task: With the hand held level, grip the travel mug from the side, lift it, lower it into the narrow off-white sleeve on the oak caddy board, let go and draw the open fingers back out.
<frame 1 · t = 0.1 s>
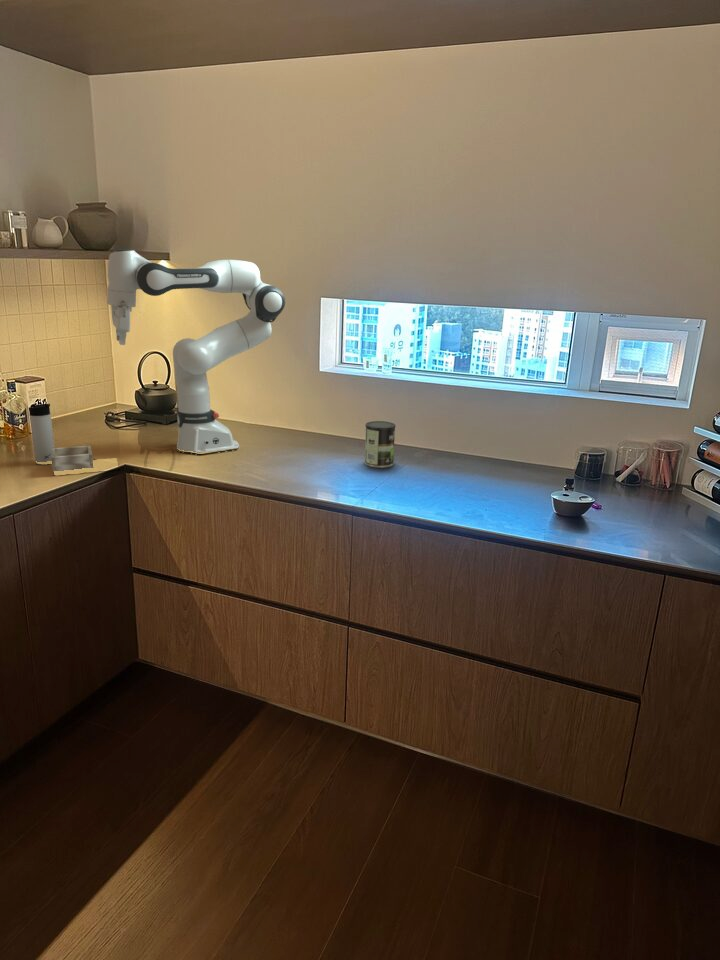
hand: (120, 342, 225), 39 cm above the counter, tool pointing down, fingers open, 8 cm apart
coffee can: (378, 464, 235), on the counter
mug caddy: (86, 467, 221), on the counter
travel mug: (46, 463, 225), on the counter
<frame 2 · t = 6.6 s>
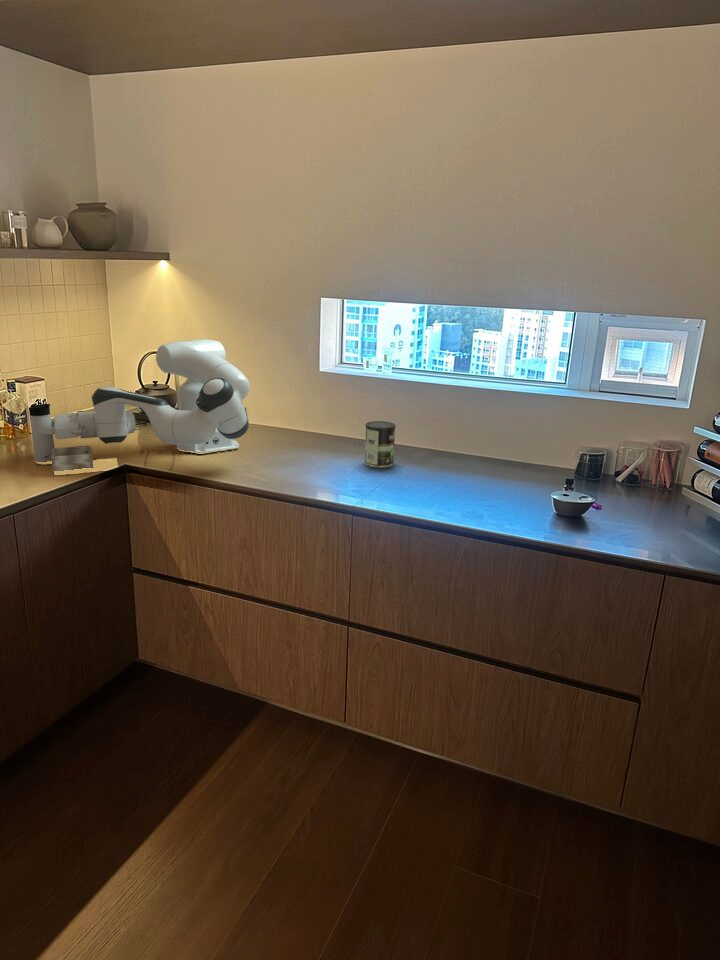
hand: (39, 428, 221), 12 cm above the counter, tool horizontal, fingers closed on travel mug, 6 cm apart
travel mug: (46, 463, 225), on the counter, touching gripper
everything else where it was.
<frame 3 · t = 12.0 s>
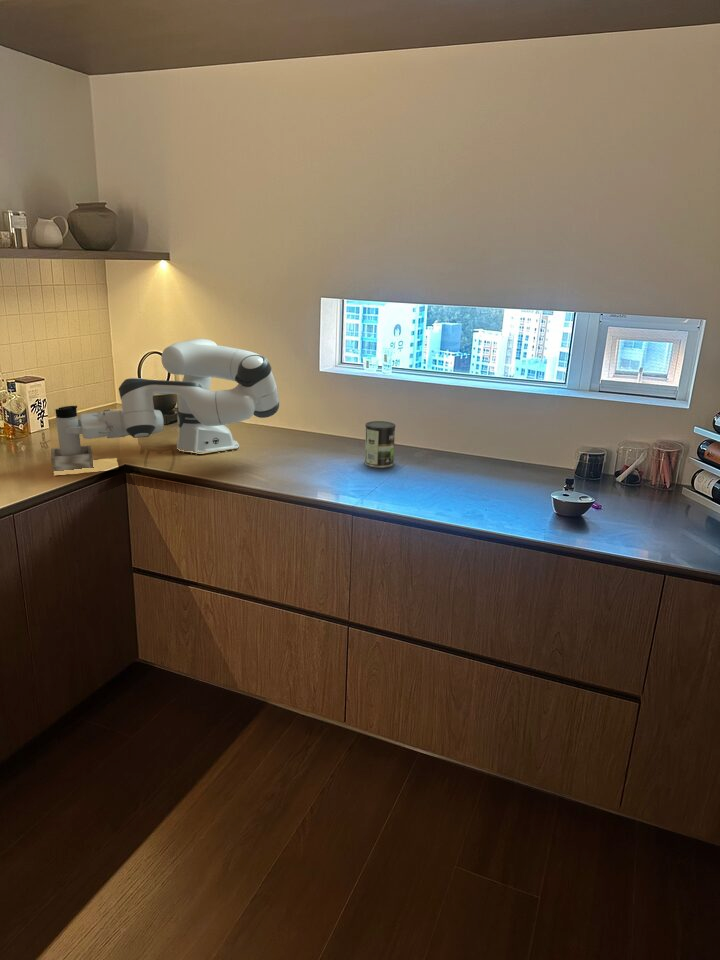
hand: (65, 427, 214), 14 cm above the counter, tool horizontal, fingers closed on travel mug, 6 cm apart
travel mug: (73, 467, 219), point 1 cm above the counter, touching gripper, mug caddy
everything else where it was.
when the fingers open (14 cm above the counter, at t = 12.5 s): travel mug stays where it is, resting on mug caddy.
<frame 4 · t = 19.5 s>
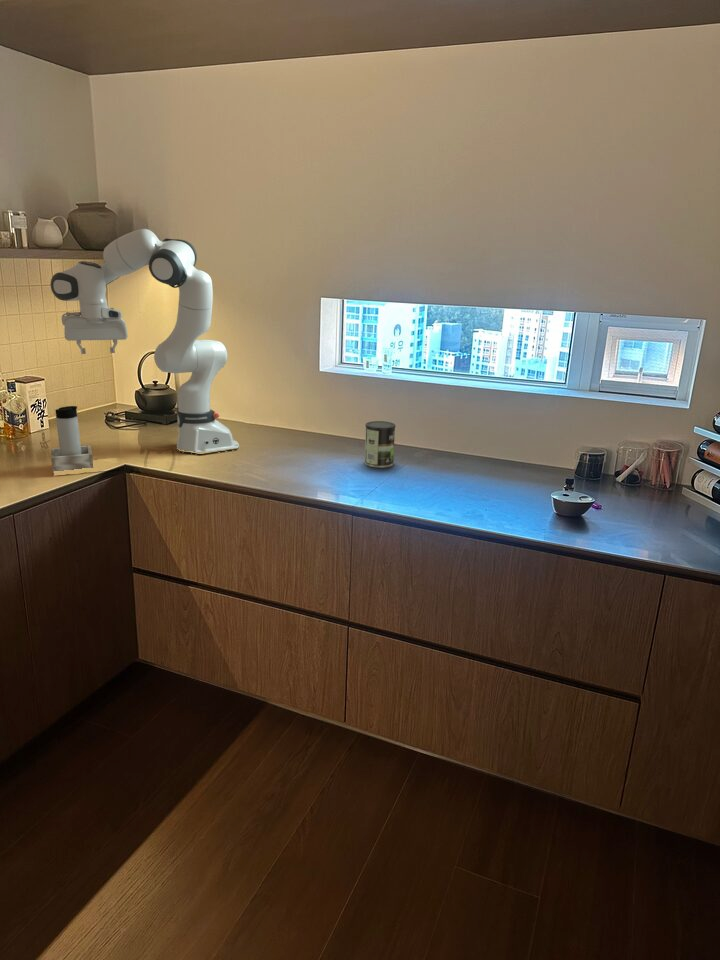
hand: (98, 353, 232), 34 cm above the counter, tool pointing down, fingers open, 8 cm apart
travel mug: (73, 467, 219), point 1 cm above the counter, touching mug caddy
everything else where it was.
at the end: travel mug 0.6 cm from the target spot on the mug caddy, point 0.8 cm above the mug caddy's base; travel mug tilted 0°; the gripper is holding nothing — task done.
